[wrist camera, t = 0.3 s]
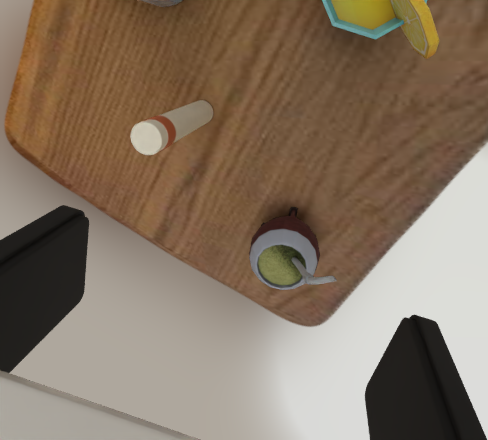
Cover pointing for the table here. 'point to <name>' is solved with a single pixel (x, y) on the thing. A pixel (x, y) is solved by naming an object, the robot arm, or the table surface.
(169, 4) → the tumbler
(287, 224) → the mate gourd
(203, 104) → the beige cylinder rod
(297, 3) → the table surface
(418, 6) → the cup
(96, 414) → the robot arm
